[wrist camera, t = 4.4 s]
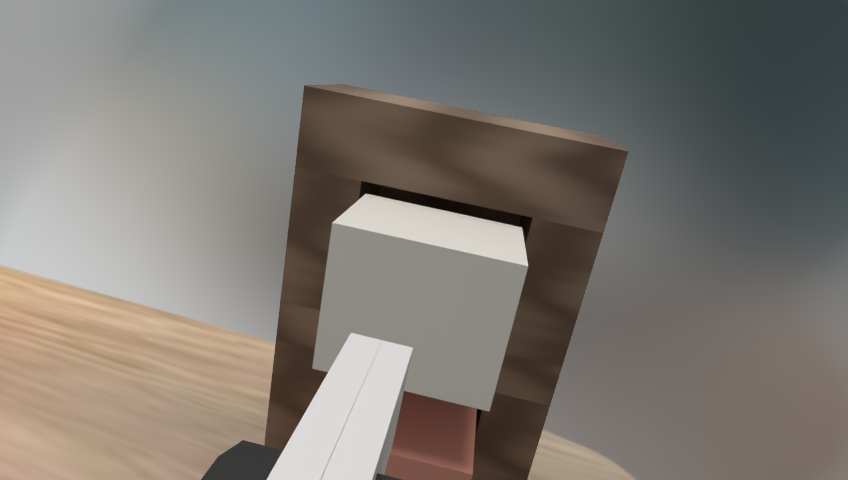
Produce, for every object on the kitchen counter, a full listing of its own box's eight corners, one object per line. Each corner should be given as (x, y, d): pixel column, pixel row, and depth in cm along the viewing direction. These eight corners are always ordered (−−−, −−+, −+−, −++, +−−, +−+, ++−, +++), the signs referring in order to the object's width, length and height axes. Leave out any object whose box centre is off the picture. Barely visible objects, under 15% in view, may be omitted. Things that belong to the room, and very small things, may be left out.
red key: (452, 497, 27) (477, 401, 26) (443, 585, 23) (472, 474, 21) (323, 464, 28) (338, 367, 26) (288, 543, 23) (303, 431, 21)
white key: (491, 347, 25) (522, 227, 23) (489, 411, 20) (528, 266, 18) (347, 314, 25) (365, 193, 23) (312, 368, 20) (332, 222, 19)
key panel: (496, 496, 35) (601, 136, 28) (496, 577, 29) (628, 151, 22) (295, 444, 36) (342, 84, 28) (256, 513, 30) (304, 85, 23)
